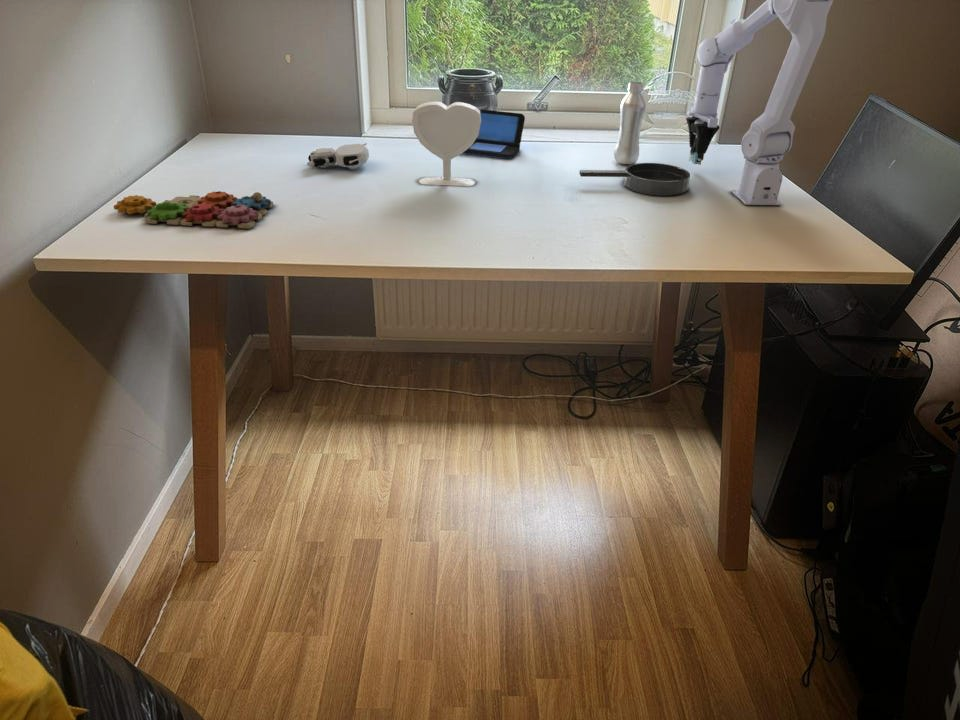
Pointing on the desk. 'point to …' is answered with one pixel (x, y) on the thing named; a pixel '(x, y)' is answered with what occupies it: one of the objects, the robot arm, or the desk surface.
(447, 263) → the desk surface
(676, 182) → the pan
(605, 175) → the pan handle
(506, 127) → the game console
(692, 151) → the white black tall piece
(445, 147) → the heart sculpture
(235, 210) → the gear puzzle
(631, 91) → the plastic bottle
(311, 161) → the robot toy
